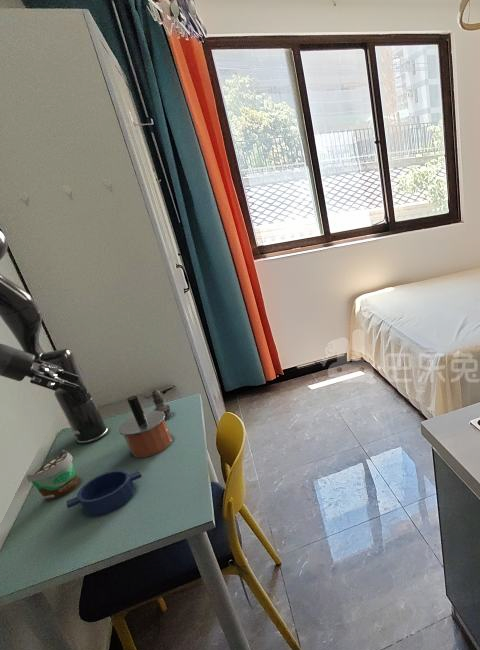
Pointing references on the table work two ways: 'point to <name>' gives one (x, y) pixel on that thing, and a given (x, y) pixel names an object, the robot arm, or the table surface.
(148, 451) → the pot
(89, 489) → the pan
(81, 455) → the table surface
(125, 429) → the lid
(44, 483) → the food container
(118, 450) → the table surface
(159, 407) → the grey upright piece
